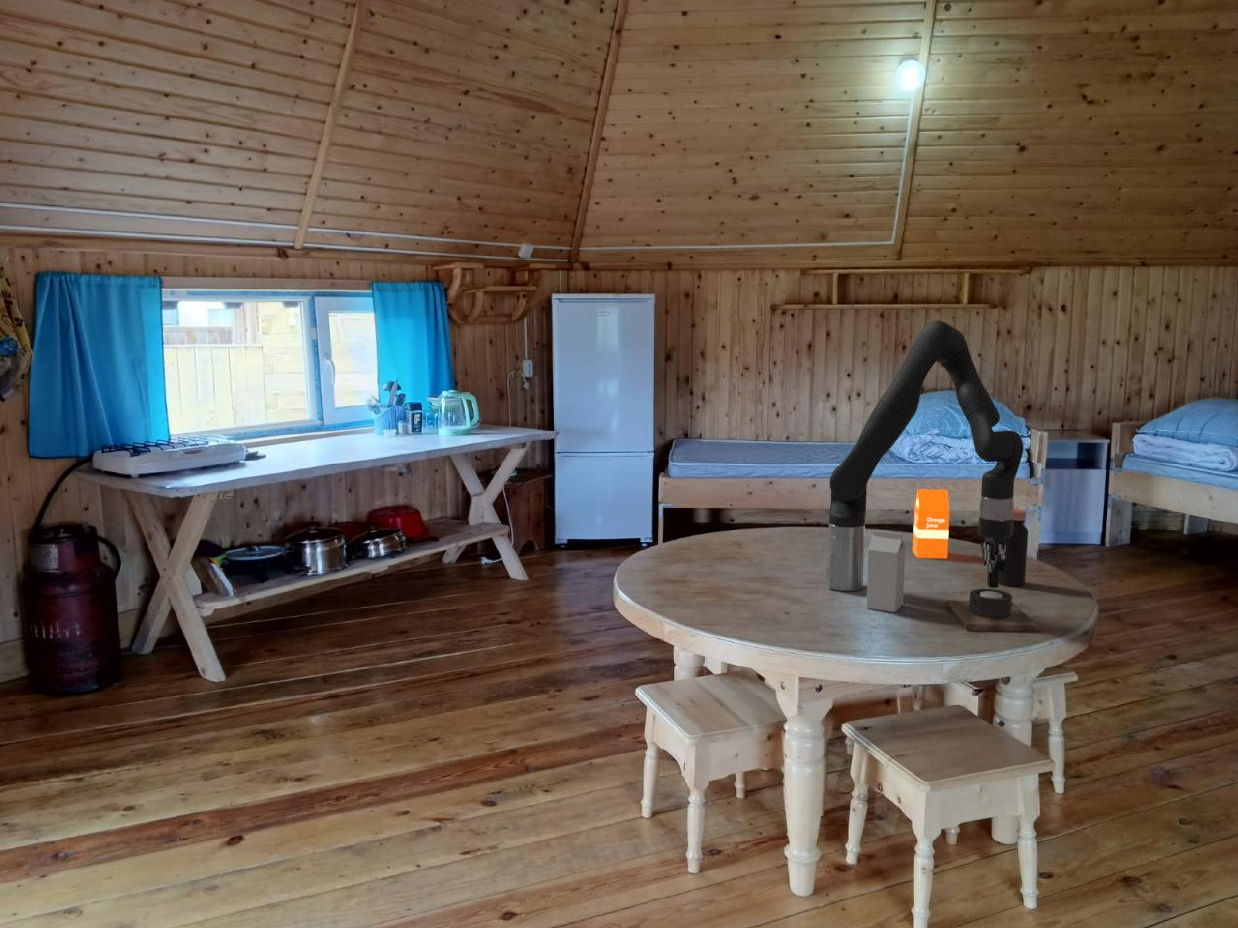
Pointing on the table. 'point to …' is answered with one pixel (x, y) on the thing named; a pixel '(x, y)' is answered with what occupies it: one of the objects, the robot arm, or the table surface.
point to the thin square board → (990, 613)
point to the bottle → (1016, 553)
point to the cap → (991, 594)
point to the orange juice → (931, 524)
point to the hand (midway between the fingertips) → (992, 586)
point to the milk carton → (885, 571)
